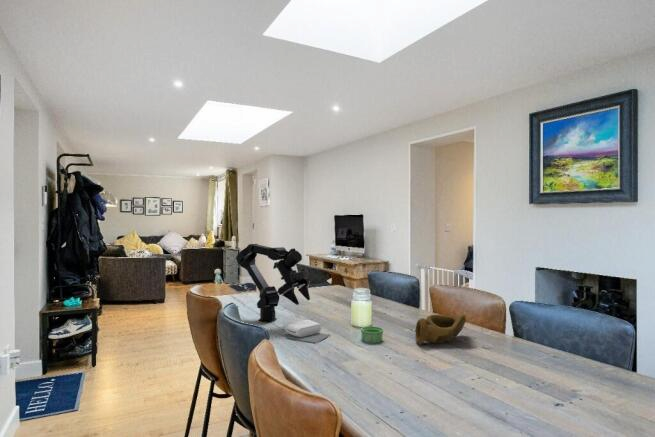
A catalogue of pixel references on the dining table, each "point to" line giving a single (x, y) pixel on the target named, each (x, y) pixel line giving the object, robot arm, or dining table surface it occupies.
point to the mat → (310, 337)
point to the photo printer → (303, 328)
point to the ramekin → (372, 334)
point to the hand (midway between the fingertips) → (303, 302)
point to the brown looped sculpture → (438, 328)
